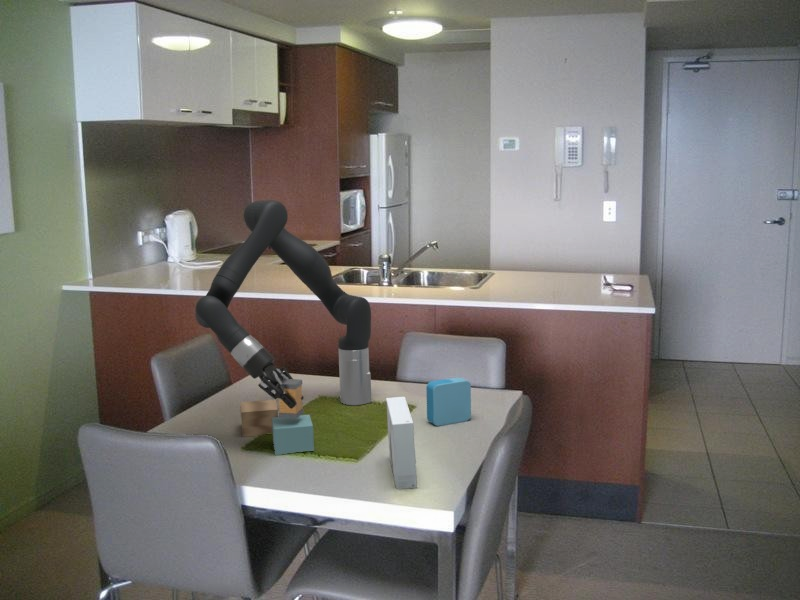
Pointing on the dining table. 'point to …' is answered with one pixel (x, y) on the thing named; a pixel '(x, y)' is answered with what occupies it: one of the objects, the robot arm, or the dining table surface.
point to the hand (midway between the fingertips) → (297, 403)
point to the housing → (295, 392)
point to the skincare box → (401, 443)
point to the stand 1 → (258, 417)
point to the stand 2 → (292, 434)
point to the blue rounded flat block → (448, 401)
